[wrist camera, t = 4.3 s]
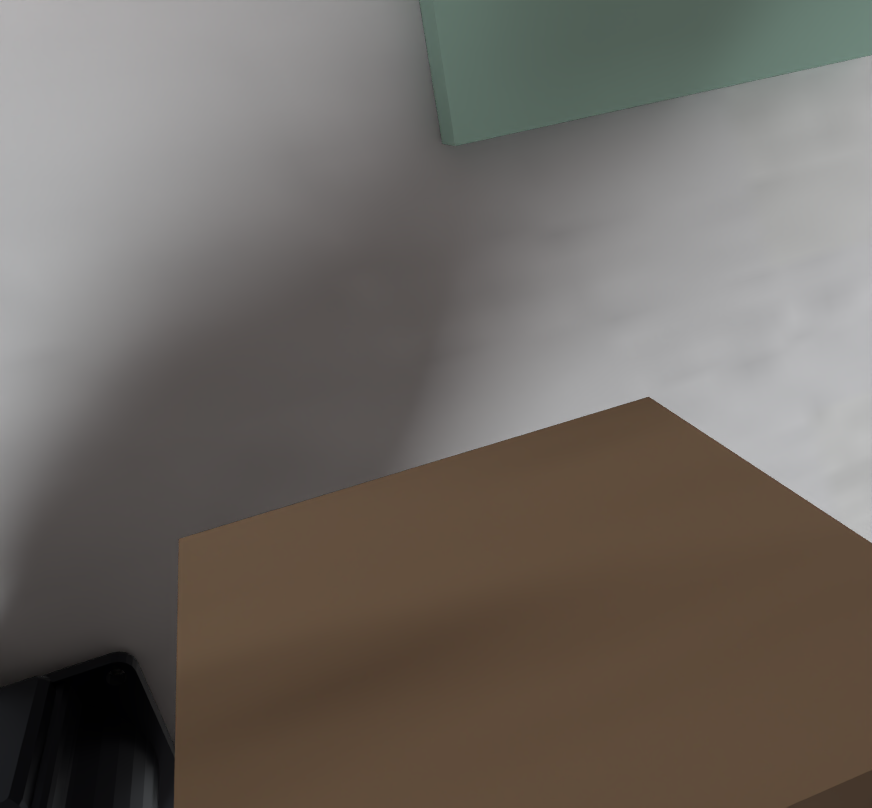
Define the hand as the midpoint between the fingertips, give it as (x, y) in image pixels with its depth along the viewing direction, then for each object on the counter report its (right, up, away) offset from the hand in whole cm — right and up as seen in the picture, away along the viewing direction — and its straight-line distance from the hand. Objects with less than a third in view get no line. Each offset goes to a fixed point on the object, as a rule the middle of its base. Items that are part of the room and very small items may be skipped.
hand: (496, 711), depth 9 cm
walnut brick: (0, 0, +1) cm, 1 cm away
